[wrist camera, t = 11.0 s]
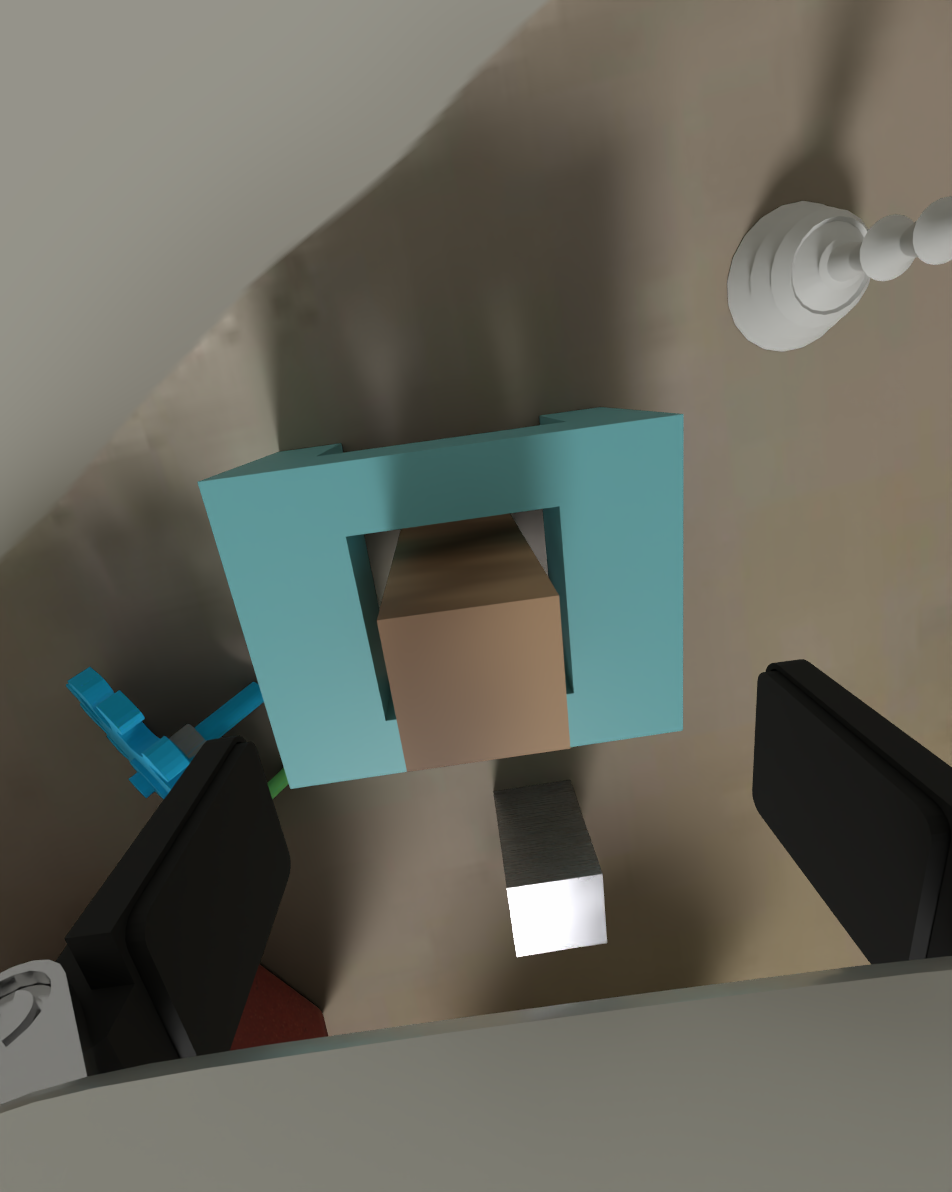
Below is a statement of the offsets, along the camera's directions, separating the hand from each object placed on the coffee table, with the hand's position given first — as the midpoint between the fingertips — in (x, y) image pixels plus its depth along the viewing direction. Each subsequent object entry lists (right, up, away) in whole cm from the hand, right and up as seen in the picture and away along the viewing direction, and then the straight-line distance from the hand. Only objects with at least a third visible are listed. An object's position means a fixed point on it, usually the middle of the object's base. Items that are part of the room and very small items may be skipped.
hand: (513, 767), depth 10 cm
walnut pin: (-1, +5, +14) cm, 15 cm away
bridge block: (-1, +5, +14) cm, 15 cm away
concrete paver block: (+2, -8, +19) cm, 21 cm away
